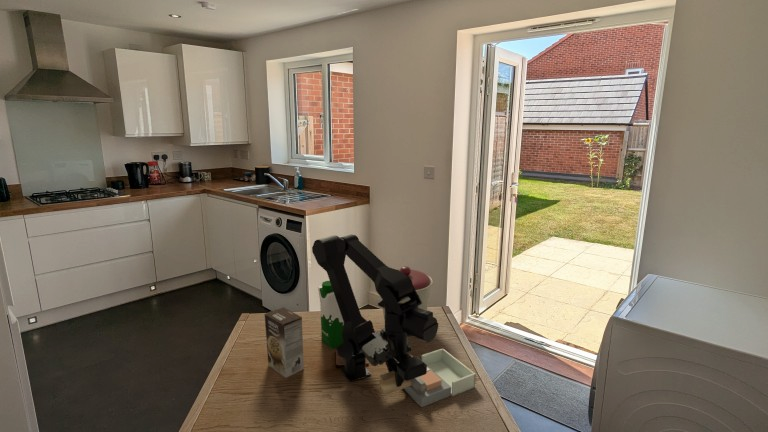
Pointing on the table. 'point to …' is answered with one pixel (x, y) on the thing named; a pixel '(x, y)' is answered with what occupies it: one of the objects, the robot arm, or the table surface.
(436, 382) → the tile terracotta
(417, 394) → the grey stepped riser
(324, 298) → the milk carton
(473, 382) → the tray
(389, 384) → the scraper
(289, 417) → the table surface
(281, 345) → the coffee box
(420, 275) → the canister
